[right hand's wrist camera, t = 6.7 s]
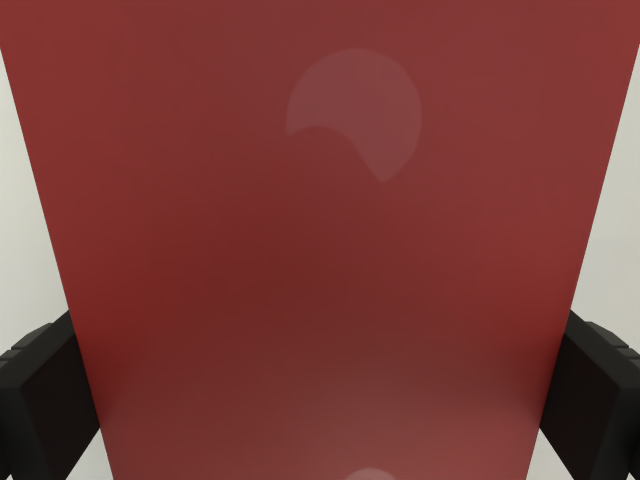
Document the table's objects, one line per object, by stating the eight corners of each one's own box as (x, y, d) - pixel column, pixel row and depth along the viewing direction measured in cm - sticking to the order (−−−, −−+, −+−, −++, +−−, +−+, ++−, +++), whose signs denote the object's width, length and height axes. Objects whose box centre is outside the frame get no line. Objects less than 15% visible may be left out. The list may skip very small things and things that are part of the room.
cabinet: (181, -90, 15) (-163, -556, 4) (456, -90, 15) (798, -553, 4) (221, 301, 21) (120, 513, 10) (417, 301, 21) (518, 512, 10)
